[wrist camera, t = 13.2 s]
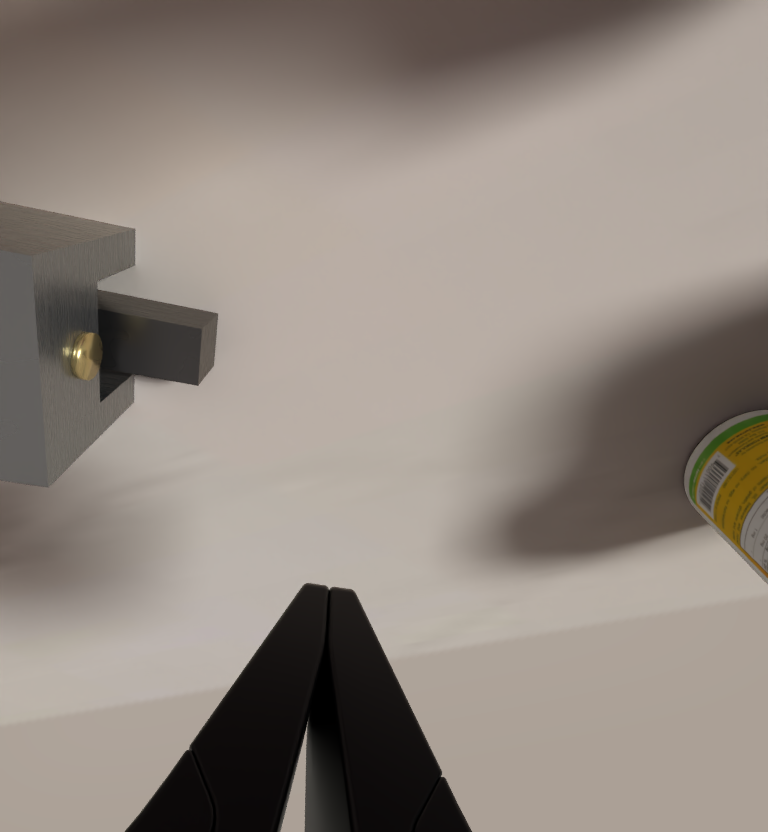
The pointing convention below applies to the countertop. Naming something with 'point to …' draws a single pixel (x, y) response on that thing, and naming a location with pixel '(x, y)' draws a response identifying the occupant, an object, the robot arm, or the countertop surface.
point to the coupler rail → (156, 338)
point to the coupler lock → (55, 340)
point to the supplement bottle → (734, 485)
